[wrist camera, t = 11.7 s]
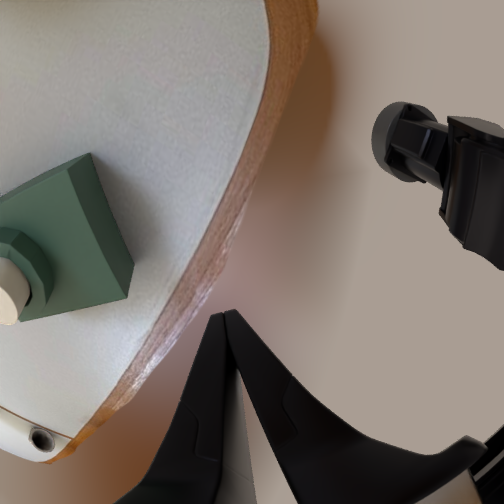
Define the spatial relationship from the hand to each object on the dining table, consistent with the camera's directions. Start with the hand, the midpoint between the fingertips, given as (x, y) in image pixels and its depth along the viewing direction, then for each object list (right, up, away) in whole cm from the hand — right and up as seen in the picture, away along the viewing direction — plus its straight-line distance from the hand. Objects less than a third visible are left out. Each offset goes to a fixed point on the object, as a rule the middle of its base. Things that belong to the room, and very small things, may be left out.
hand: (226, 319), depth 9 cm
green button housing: (-16, +4, +10) cm, 19 cm away
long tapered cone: (-51, -44, +32) cm, 75 cm away
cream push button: (-16, 0, +5) cm, 17 cm away
